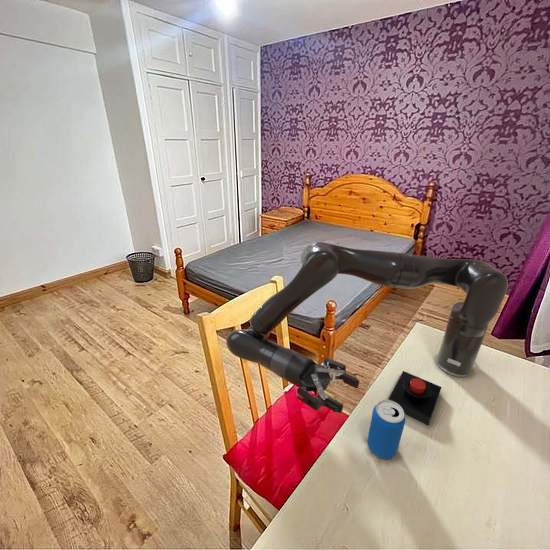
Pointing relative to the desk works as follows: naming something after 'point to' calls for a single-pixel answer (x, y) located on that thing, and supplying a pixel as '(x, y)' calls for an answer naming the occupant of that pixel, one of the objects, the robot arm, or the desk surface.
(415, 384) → the plunger
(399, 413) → the beverage can
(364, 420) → the desk surface
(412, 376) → the button housing
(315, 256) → the robot arm
